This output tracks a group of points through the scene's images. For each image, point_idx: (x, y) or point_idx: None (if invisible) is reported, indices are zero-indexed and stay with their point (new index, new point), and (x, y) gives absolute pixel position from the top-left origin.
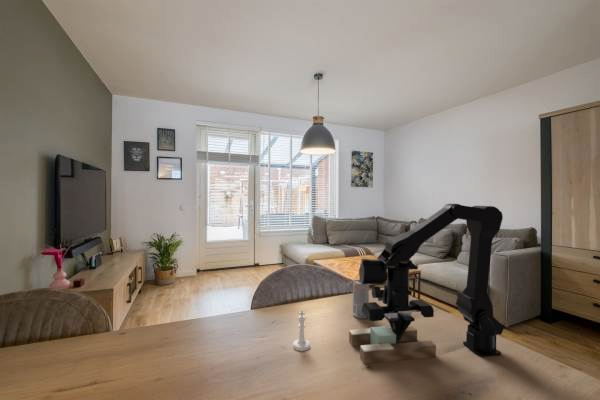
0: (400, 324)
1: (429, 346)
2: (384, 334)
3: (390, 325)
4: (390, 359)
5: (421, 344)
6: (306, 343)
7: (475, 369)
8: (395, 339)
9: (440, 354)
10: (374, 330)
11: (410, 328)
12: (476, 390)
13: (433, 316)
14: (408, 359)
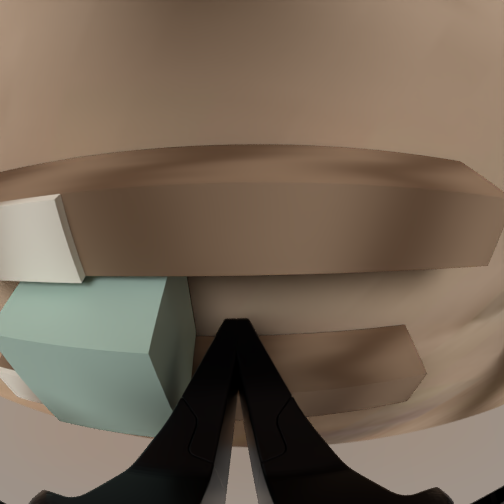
0: (256, 479)
1: (372, 405)
2: (98, 423)
3: (172, 416)
4: None
5: (345, 402)
6: None
7: (433, 391)
8: None
9: (425, 339)
10: (26, 378)
11: (472, 231)
12: (345, 438)
13: (491, 492)
14: None
